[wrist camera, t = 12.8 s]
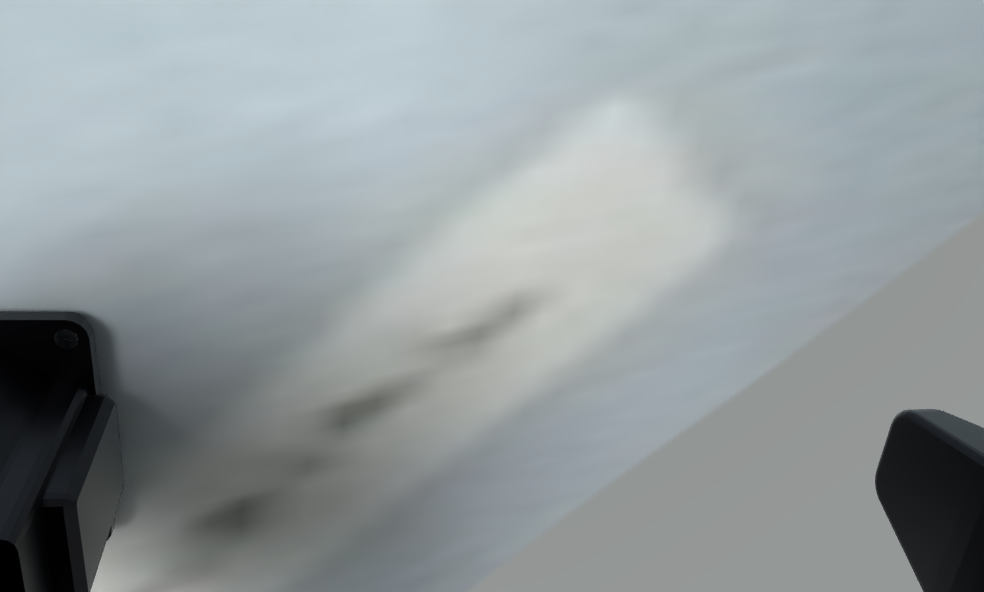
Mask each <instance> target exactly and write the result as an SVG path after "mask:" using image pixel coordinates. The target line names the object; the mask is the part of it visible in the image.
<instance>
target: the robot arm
mask: <svg viewBox="0 0 984 592" xmlns="http://www.w3.org/2000/svg"><path fill="white" fill-rule="evenodd" d="M64 329H66V330H71V331H72V332H74V333H75V334H76V335H77V337H78V340H75V341H69V340H65V339H64V338H63V337H61V335H60V333H59V331H60V330H64ZM875 485H876V491H877V495H878V498H879V500H880V502H881V504H882V506H883V509H884V511H885V513H886V515H887V517H888V519H889V521H890V523H891V525H892V527H893V529H894V531H895V533H896V536H897V538H898V540H899V542H900V544H901V546H902V548H903V550H904V552H905V554H906V556H907V558H908V560H909V562H910V564H911V567H912V569H913V571H914V573H915V575H916V577H917V579H918V581H919V583H920V585H921V587H922V589H923V591H924V592H984V428H982V427H980V426H978V425H975V424H973V423H970V422H968V421H966V420H963V419H961V418H958V417H956V416H954V415H951V414H949V413H946V412H944V411H941V410H935V409H924V410H923V409H921V410H904V411H902V412H900V413H899V414H897V416H896V417H895V418H894V419H893V422H892V424H891V427H890V430H889V433H888V437H887V440H886V443H885V446H884V449H883V452H882V455H881V458H880V461H879V465H878V468H877V471H876V477H875ZM123 487H124V475H123V465H122V456H121V447H120V437H119V428H118V418H117V409H116V403H115V402H114V401H113V400H112V399H111V398H110V397H109V396H108V395H107V394H103V395H101V392H100V384H99V375H98V366H97V357H96V349H95V340H94V331H93V328H92V326H91V324H90V322H89V321H88V320H87V319H86V318H85V317H83V316H81V315H79V314H77V313H71V312H0V592H90V591H91V587H92V584H93V581H94V578H95V575H96V572H97V569H98V566H99V562H100V559H101V556H102V553H103V550H104V547H105V544H106V541H107V540H108V539H109V538H110V536H111V534H112V531H113V528H114V523H115V512H116V509H117V506H118V503H119V500H120V497H121V494H122V491H123Z"/></svg>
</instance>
